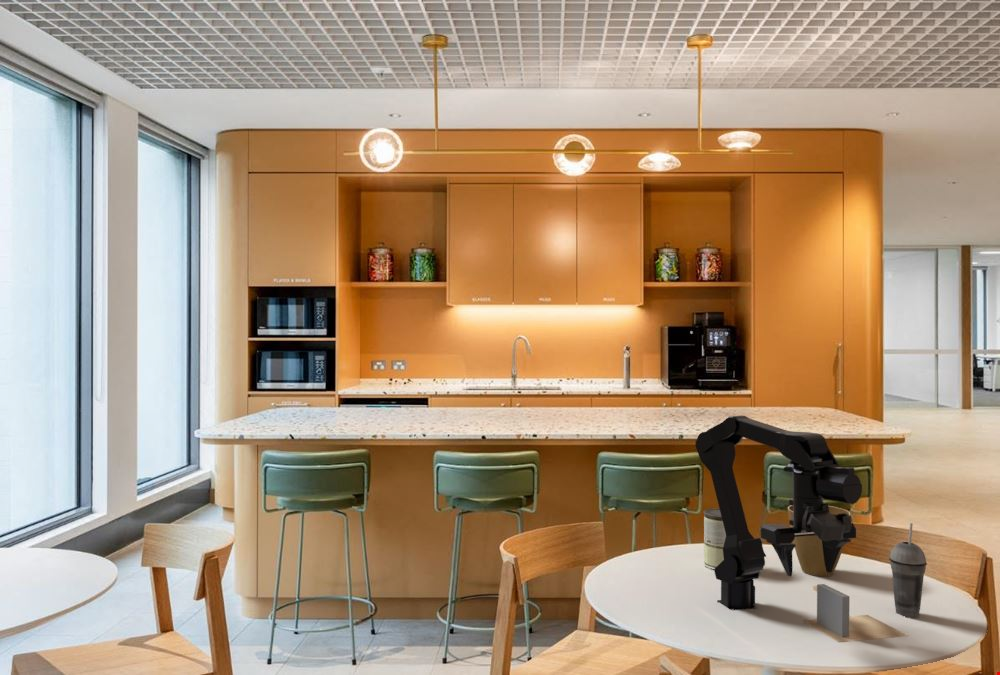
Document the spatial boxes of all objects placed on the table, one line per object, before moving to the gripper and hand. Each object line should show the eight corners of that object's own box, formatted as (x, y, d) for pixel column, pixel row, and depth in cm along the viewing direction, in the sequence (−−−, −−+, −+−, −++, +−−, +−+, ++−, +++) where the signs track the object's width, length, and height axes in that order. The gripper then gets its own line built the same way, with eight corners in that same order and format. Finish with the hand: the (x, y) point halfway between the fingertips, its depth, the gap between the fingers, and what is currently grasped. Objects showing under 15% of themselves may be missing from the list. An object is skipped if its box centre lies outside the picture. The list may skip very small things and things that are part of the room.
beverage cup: (914, 608, 176) (915, 518, 176) (933, 620, 168) (934, 526, 168) (882, 608, 175) (883, 518, 175) (899, 620, 168) (900, 526, 168)
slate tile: (842, 637, 157) (842, 596, 157) (816, 623, 164) (817, 584, 164) (849, 636, 157) (850, 596, 157) (824, 622, 165) (824, 583, 165)
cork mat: (838, 645, 154) (838, 642, 154) (801, 623, 166) (801, 620, 166) (908, 638, 158) (908, 635, 158) (867, 617, 170) (867, 614, 170)
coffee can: (710, 558, 214) (710, 506, 214) (748, 564, 208) (749, 511, 208) (697, 567, 205) (698, 513, 205) (737, 574, 200) (738, 518, 200)
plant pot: (776, 571, 203) (776, 509, 202) (804, 560, 213) (804, 501, 213) (833, 585, 192) (834, 519, 191) (860, 573, 202) (860, 510, 201)
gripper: (792, 506, 150) (794, 589, 149) (875, 500, 154) (877, 581, 154) (758, 496, 160) (759, 573, 160) (837, 491, 165) (838, 566, 165)
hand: (809, 574), depth 159 cm, fingers open, 9 cm apart
